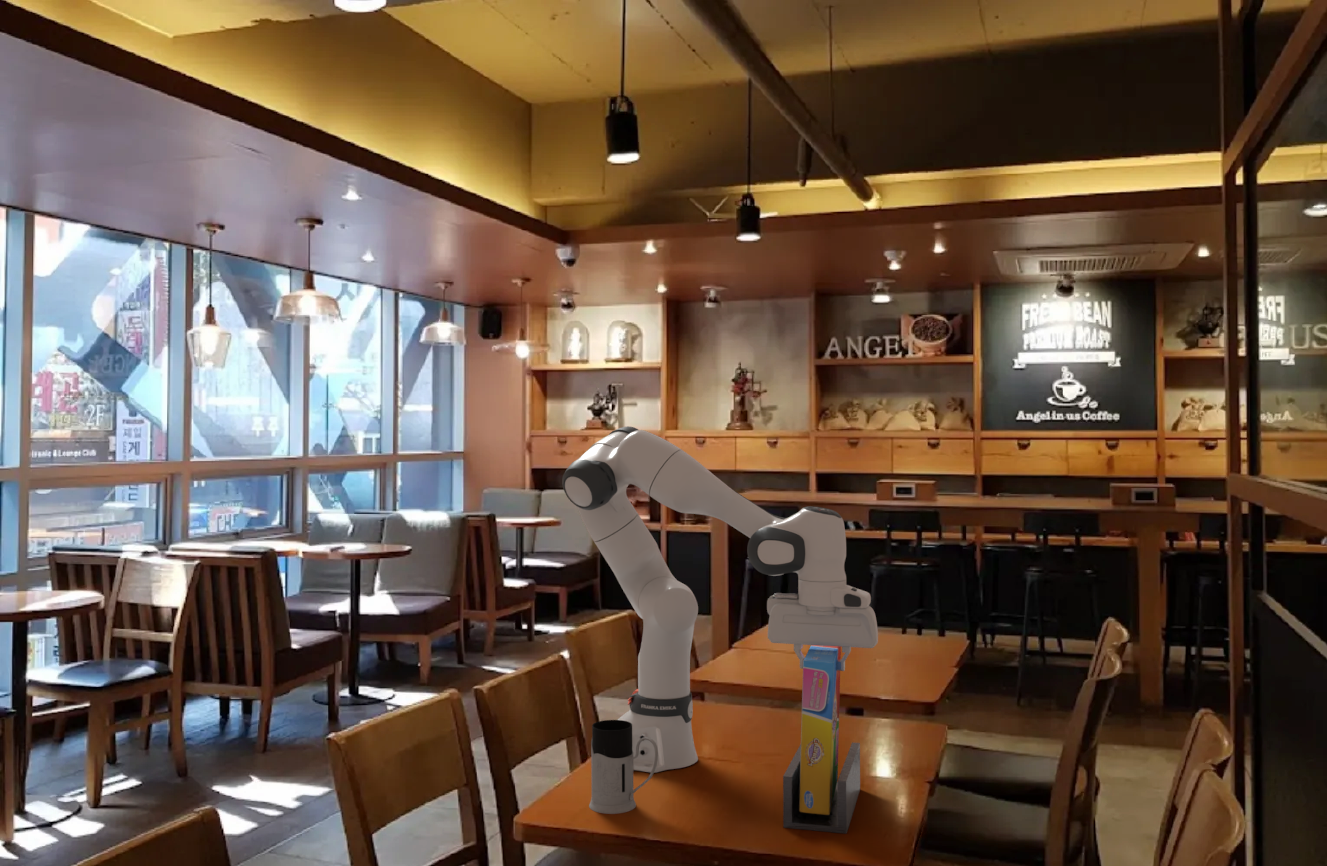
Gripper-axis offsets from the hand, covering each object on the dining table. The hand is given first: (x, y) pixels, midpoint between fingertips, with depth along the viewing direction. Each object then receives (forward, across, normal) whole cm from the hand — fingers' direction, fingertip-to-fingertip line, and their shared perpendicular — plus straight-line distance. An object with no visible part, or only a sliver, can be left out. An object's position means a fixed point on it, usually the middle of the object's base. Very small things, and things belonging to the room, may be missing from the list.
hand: (822, 669), depth 195 cm
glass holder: (+26, -35, -10) cm, 45 cm away
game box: (+24, -1, 0) cm, 24 cm away
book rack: (+26, 0, 0) cm, 26 cm away
